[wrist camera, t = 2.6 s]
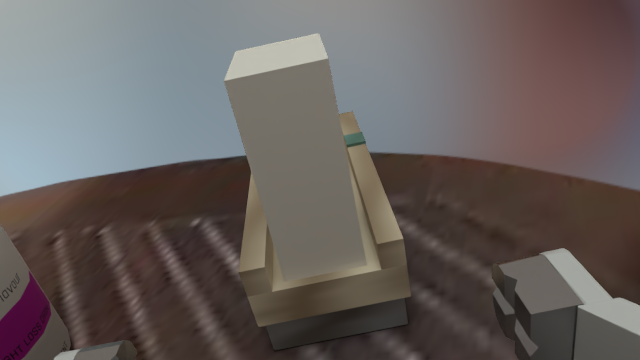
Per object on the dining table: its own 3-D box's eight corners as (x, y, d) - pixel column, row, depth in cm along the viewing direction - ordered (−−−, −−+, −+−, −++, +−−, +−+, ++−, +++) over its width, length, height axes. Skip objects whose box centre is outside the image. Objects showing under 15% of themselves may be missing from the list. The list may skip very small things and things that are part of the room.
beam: (268, 355, 24) (236, 268, 21) (273, 191, 39) (255, 129, 36) (415, 325, 23) (403, 234, 21) (363, 173, 38) (352, 108, 36)
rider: (284, 282, 22) (223, 80, 17) (284, 224, 27) (235, 51, 22) (367, 265, 22) (328, 58, 17) (352, 210, 26) (318, 33, 22)
